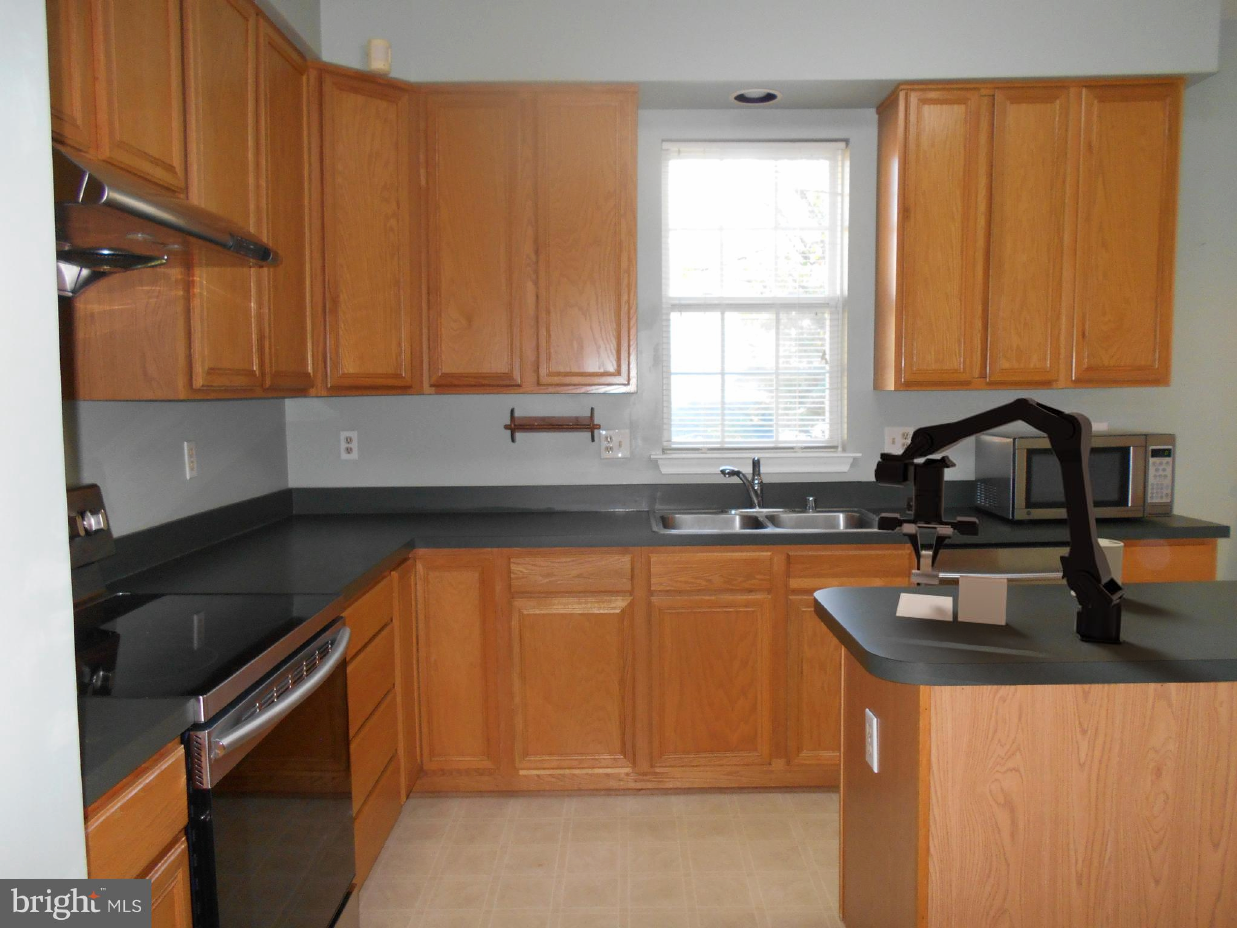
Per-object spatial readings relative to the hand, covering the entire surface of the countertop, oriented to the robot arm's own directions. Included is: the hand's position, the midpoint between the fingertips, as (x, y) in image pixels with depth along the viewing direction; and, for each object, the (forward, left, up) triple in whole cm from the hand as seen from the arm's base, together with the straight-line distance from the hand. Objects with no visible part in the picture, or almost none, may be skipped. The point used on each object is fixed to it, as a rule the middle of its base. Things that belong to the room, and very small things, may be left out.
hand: (926, 566), depth 171 cm
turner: (0, +3, -1) cm, 4 cm away
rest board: (0, +3, -8) cm, 9 cm away
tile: (-10, +11, -8) cm, 17 cm away
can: (-33, -20, -8) cm, 40 cm away
